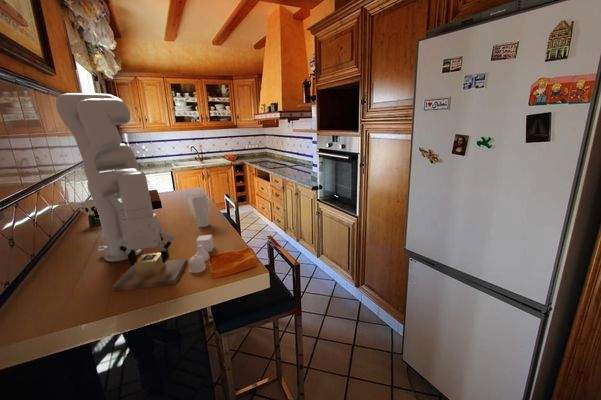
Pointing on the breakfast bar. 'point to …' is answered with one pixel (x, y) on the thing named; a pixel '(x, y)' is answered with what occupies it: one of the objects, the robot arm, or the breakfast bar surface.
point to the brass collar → (149, 265)
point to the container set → (201, 253)
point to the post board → (165, 278)
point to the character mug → (90, 212)
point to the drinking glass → (201, 209)
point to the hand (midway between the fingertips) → (149, 262)
